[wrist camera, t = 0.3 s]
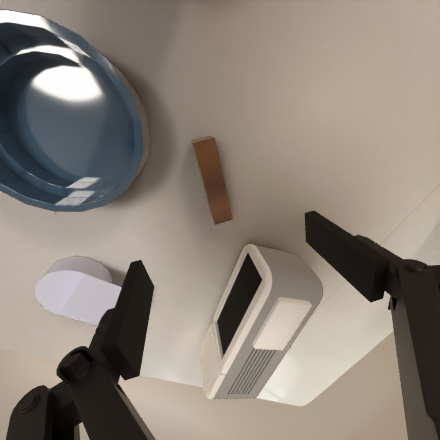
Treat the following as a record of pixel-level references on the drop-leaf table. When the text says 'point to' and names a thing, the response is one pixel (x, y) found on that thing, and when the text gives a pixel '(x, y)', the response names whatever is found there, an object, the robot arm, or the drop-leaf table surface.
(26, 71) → the bowl
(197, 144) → the stick
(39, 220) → the drop-leaf table surface
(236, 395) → the alarm clock
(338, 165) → the drop-leaf table surface
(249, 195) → the drop-leaf table surface
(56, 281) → the wedge on round base
